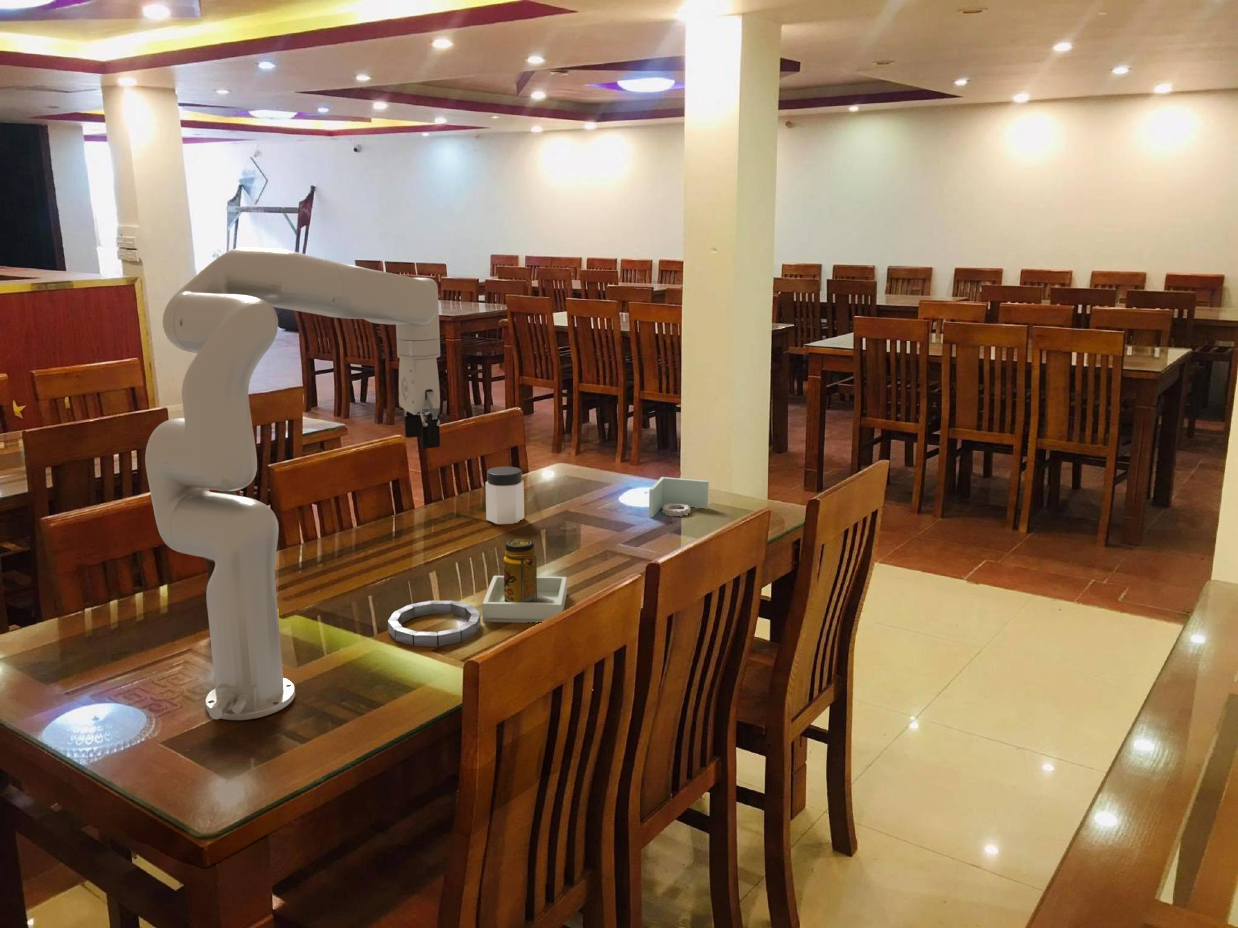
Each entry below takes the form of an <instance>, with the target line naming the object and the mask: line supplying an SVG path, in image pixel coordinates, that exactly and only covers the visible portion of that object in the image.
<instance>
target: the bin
mask: <svg viewBox="0 0 1238 928" xmlns="http://www.w3.org/2000/svg"><path fill="white" fill-rule="evenodd" d="M567 579H568V578H567V576H537V595H539V596H542V597H544V598H548V599H551V600H555V601H552V602H550V603H524V602H500V601H504V600H505V599H504V575H493V576H492V578H491V581H490V584H489V586H488V589H487V591H486V593H485V595H484V599H483V602H482V603H481V604H482V605H481V606H482V607H481V608H482V622H483V623H523V624H524V623H526V624H527V622H530V623H531V624H533V623H532V622H535V624H537V623H538V622H541V621H543V620H544V619H547V618H550V617H551V616H554V615H556V614H558V613H560V612H562V611H563V610H565V606H566V600H567V599H566V598H567V593H568V591H567V588H568V587H567V586H568V580H567ZM563 612H564V611H563ZM536 621H538V622H536ZM538 624H539V623H538Z"/></svg>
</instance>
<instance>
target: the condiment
mask: <svg viewBox="0 0 1238 928" xmlns="http://www.w3.org/2000/svg"><path fill="white" fill-rule="evenodd" d="M534 547H535V543H534V542H533V541H532V540H530V539H526V538H524V539H523V538H517V539H511V540H508V541H507V542H505V547H504V548H505V550H504V554H505V556H504V557H503V561H502V562H503V576H504V599H505V600H504V601H500V602H524V603H550V602H552V601H555V600H551V599H548V598H544V597H542V596H539V595H537V575H538V573H537V571H538V570H537V566H538V565H537V563H538V562H537V556H536V555H535V548H534Z"/></svg>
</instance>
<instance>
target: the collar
mask: <svg viewBox="0 0 1238 928" xmlns="http://www.w3.org/2000/svg"><path fill="white" fill-rule="evenodd" d="M427 615H453V616H457V617H461V618H464V619H466V620H467V622H465V623H463V624H461V625H459V626H457V627H456V628H451V629H450V628H449V629H446V630H440V631H417V630H413V629H410V628H406V627H403V626H402V624H404V623H406V622H408V621H410V620H412V619H413V618H417V617H422V616H427ZM480 626H481V612H480V611H479V610H477V609H476V607H474V606H473V605H471V604H469V603H468V604H467V603H464V602H460V601H457V600H437V599H436V600H434V599H433V600H426V601H421V602H417V603H411V604H407V605H405V606H403V607H401V608H399V609H397V610H394V611H393V613H392V614H391V616H390V617H389V618H388V620H387V627H388V634H389V635H390V636H391V637H392V639H393V640H394V639H395V640H394V641H395V642H398V641H399V642H398V643H401V642H402V644H405V645H408V644H409V645H408V646H411V645H412V646H411V647H434V648H436V647H437V648H438V647H443V646H447V645H453V644H457V643H462V642H464V641H466V640H468V639H469V638H471V637H473V636H475V635H477V634H478V632H479V630H480ZM413 645H414V646H413Z"/></svg>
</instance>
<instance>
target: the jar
mask: <svg viewBox="0 0 1238 928" xmlns="http://www.w3.org/2000/svg"><path fill="white" fill-rule="evenodd" d="M522 476H523V471H522V469H521V468H519V467H514V466H495V467H491V468H489V469H488V470H487V471H486V480H487V481H485V514H486V516H485V517H486V521H489V522H490V523H493V524H495V525H515V524H514V523H516V524H518V523H519V522H520V520H521V521H522V520H524V519H525V486H524V485H525V482H524V480H523V477H522Z"/></svg>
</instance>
